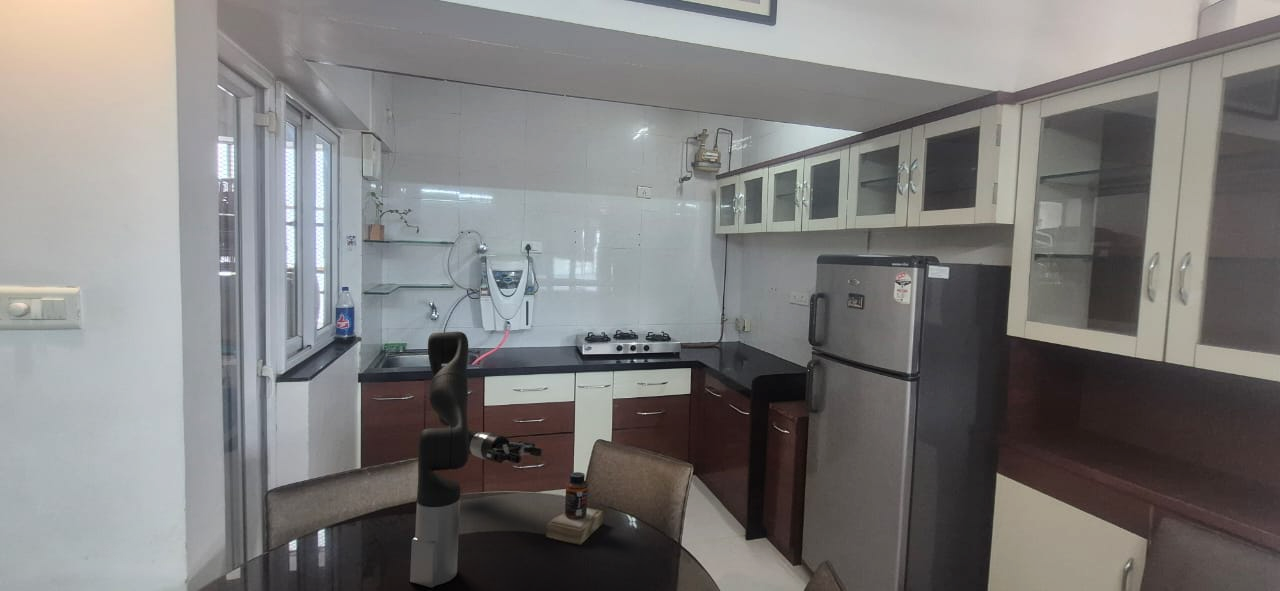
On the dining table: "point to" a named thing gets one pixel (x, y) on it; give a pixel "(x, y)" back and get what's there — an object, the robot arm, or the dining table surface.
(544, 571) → the dining table surface
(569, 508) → the supplement bottle
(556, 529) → the beige flat block
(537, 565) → the dining table surface
